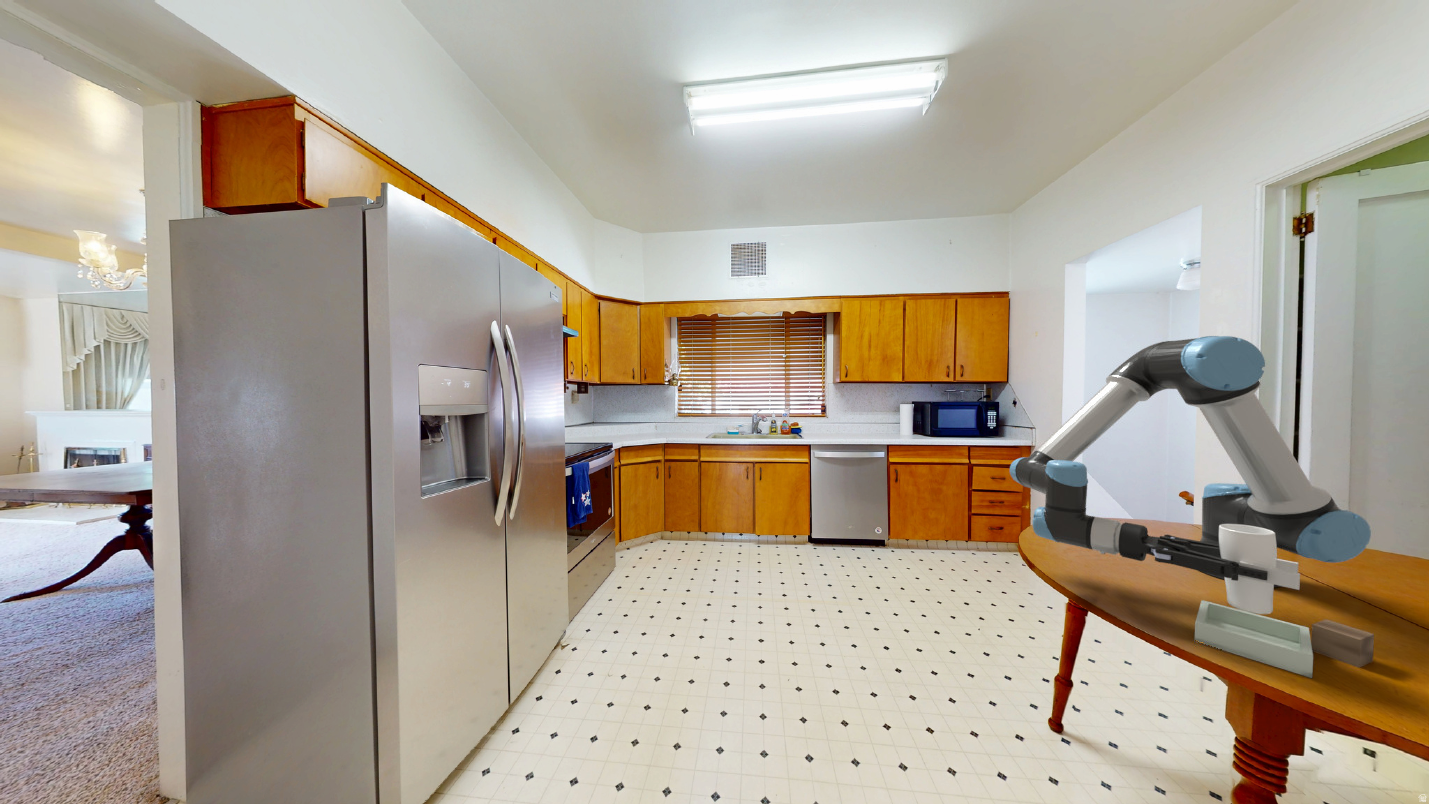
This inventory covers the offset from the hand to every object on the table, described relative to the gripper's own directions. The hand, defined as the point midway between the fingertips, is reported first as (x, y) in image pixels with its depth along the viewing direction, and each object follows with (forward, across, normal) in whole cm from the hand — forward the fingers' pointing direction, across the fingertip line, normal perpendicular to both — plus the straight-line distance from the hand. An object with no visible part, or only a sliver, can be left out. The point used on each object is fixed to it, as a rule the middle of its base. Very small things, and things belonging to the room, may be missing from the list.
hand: (1298, 575), depth 75 cm
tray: (-5, 0, -15) cm, 16 cm away
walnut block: (+5, -8, -15) cm, 18 cm away
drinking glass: (-5, 0, -8) cm, 10 cm away
